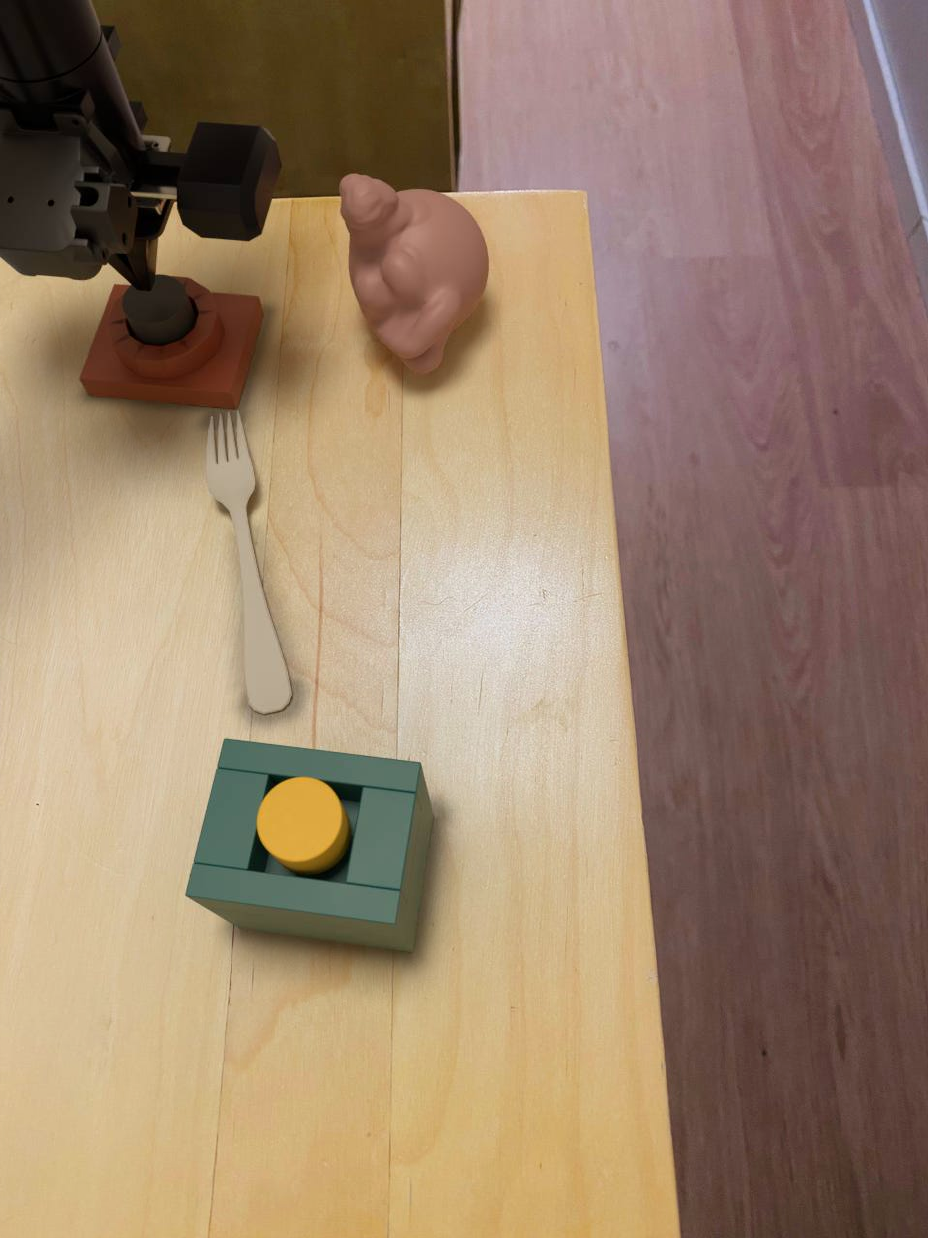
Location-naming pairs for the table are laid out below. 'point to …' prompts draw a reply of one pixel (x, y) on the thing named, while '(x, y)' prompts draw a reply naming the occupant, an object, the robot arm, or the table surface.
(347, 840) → the cylinder
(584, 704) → the table surface
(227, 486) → the fork
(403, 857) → the green push button box
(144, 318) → the far button
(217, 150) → the robot arm
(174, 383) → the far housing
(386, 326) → the figurine
